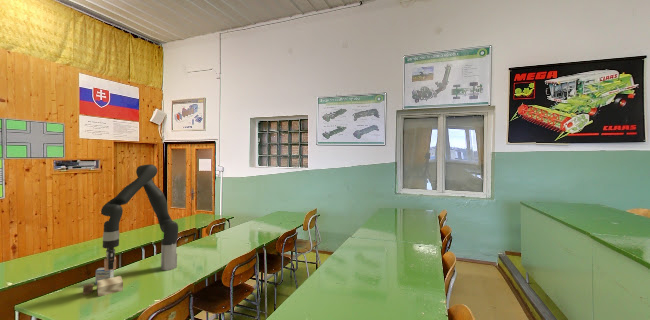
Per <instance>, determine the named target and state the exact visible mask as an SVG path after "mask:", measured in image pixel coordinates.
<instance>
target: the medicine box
mask: <svg viewBox="0 0 650 320" xmlns="http://www.w3.org/2000/svg"><path fill="white" fill-rule="evenodd" d="M114 271H115V269H114V270H109V271H105V270H104V267H98V268H97V269H95V281H94V284H95V285H97V281H99V280H103V279H108V278H112V277H115V276H114V275H115V272H114Z"/></svg>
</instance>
